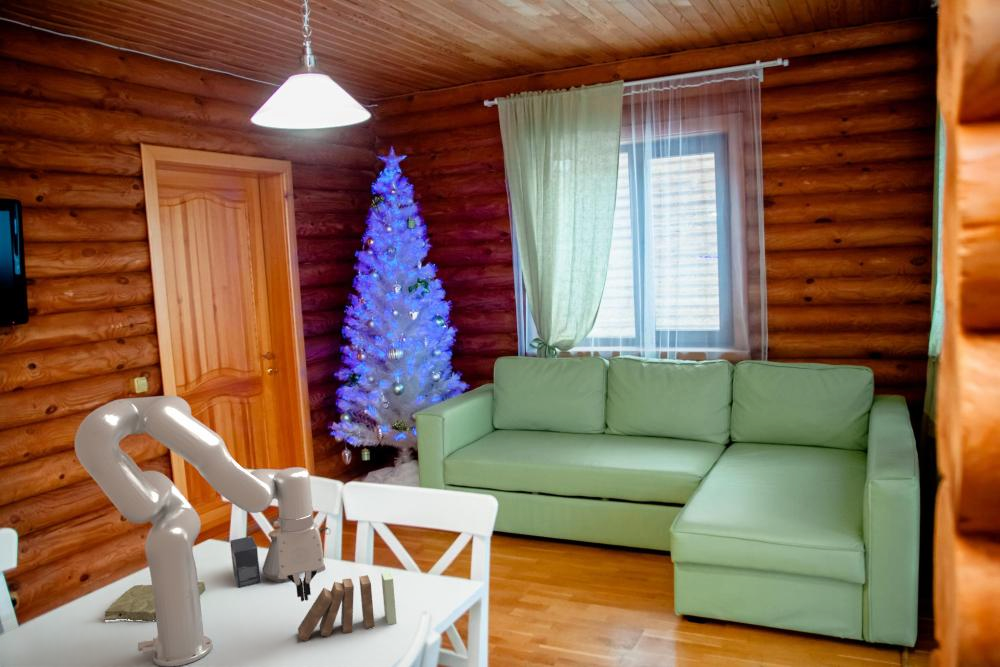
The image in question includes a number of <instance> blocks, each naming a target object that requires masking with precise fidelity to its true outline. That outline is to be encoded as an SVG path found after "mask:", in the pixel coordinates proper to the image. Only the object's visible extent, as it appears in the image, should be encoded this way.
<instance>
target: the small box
mask: <svg viewBox="0 0 1000 667" xmlns="http://www.w3.org/2000/svg"><path fill="white" fill-rule="evenodd" d="M230 552H231V564H232V571H233V575H234V578H235V582H236V584H237V588H238V589H241V588H245V587H250V586H254V585H258V584H261V583H262V578H261V571H260V563H259V557H258V556H259V554H258V546H257V544H256V541H255V540H254V537H253V536H252V535H250V536H245V537H241V538H235V539H232V540H230Z"/></svg>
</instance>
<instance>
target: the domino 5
mask: <svg viewBox="0 0 1000 667" xmlns="http://www.w3.org/2000/svg"><path fill="white" fill-rule="evenodd" d="M380 575H381V585H382V598H383V610H384V618H385V617H386V618H385V620H386V622H387V625H388V626H389V624H390V625H394V623H395V624H397V623H398V622H397V610H396V600H395V587H394V578H393V576H392V574H391V571H390V570H389V571H382V572H381V574H380Z"/></svg>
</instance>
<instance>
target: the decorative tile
mask: <svg viewBox="0 0 1000 667" xmlns="http://www.w3.org/2000/svg"><path fill="white" fill-rule="evenodd" d="M205 585H206V584H205V582H204V581H198V586H199V596H200V595H201V596H202V595H203V594H204V593H205V591H206V586H205ZM201 596H200V597H201ZM116 619H127V620H128V619H130V620H142V621H146V622H148V621H151V622H156V613H155V604H154V596H153V589H152V584H138V585H136V584H135V585H133V586H132V587H129V589H127V590H126V591H124V593H122V594H121V595H120V596H119V597H118V598H117V599H116V600H115V601H114V602H112V603H111V604H110V605H109V607H108V608H107V609H106V610H105V611H104V618H103V622H104V621H105V620H116ZM153 620H154V621H153Z"/></svg>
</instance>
